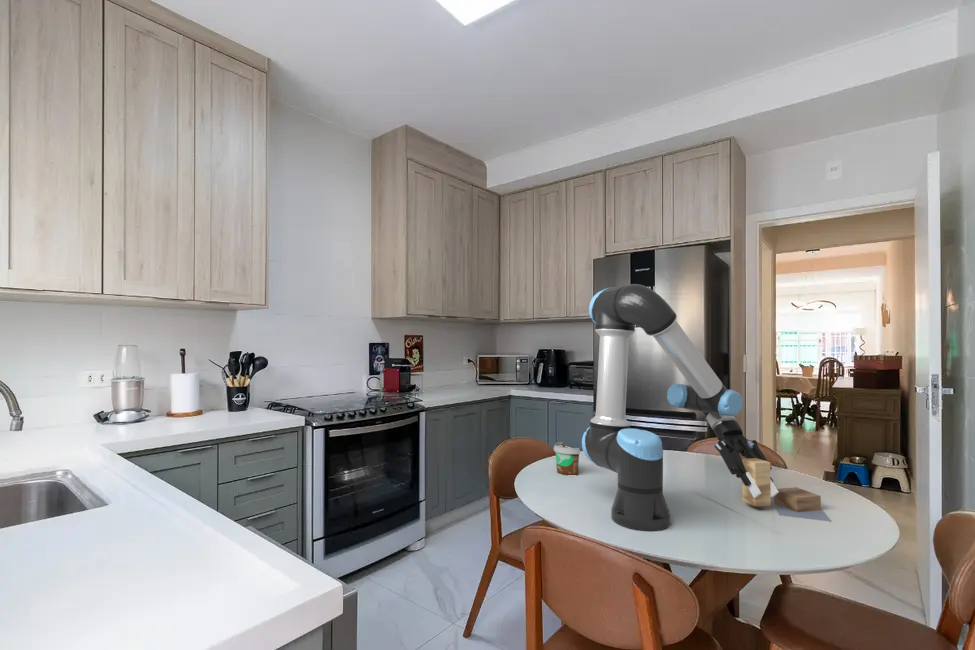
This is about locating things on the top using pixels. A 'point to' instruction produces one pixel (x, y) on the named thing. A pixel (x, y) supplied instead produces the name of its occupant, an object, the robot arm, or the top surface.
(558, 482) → the top surface
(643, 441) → the robot arm
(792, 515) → the blueprint mat
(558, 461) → the food container
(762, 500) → the pillar block
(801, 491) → the base block
